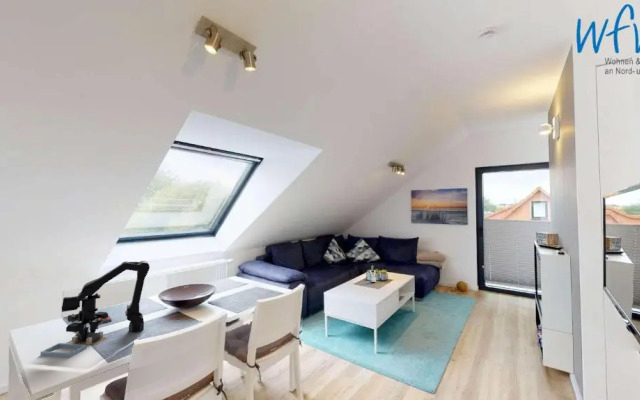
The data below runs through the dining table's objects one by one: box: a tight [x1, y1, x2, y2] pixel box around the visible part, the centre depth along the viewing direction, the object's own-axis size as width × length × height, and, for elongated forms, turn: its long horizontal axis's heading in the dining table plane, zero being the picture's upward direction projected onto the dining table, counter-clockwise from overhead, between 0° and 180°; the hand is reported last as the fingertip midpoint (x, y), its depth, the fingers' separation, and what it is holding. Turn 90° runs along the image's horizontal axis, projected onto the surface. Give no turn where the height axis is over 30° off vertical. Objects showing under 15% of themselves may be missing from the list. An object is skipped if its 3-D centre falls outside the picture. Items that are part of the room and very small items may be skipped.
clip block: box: [66, 330, 108, 346], centre depth 147 cm, size 16×8×4 cm, turn 85°
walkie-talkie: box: [96, 314, 112, 330], centre depth 169 cm, size 9×4×20 cm
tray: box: [40, 342, 87, 359], centre depth 135 cm, size 15×9×3 cm, turn 85°
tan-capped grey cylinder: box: [74, 331, 100, 341], centre depth 147 cm, size 11×4×4 cm, turn 85°
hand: (87, 337), depth 147 cm, fingers closed on tan-capped grey cylinder, 4 cm apart
